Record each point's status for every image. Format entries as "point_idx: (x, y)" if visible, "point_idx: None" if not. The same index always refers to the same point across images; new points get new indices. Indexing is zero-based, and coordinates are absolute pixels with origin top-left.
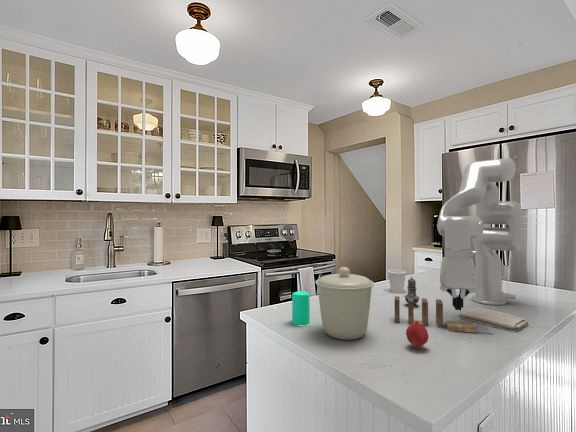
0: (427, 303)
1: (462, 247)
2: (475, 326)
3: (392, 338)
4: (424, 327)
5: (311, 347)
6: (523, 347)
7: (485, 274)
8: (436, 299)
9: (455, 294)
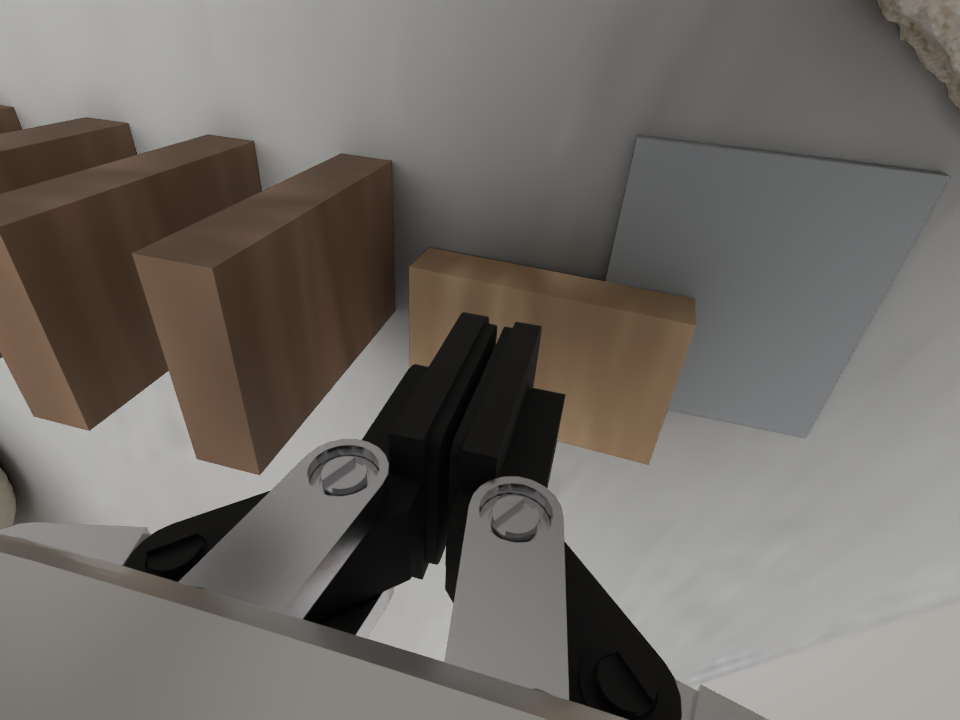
0: (96, 420)
1: None
2: (650, 448)
3: (134, 493)
4: None
5: None
6: (871, 622)
7: None
8: (141, 262)
9: (358, 628)
